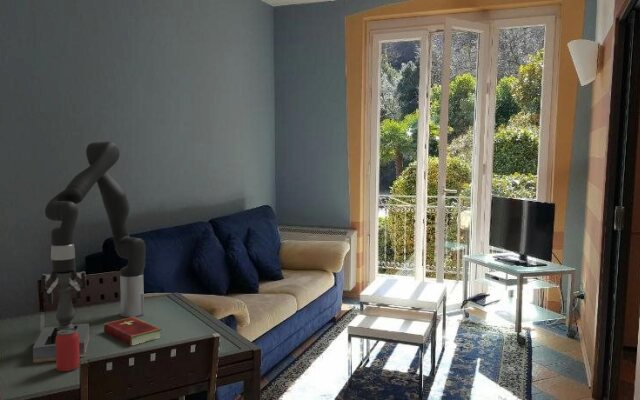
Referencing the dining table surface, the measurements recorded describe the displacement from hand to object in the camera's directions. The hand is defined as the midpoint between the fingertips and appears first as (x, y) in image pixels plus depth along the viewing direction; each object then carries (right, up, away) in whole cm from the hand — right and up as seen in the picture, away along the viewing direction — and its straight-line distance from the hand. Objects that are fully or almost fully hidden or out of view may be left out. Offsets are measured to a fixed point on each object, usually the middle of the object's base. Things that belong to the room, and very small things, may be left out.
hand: (64, 301), depth 177 cm
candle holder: (0, -14, +1) cm, 14 cm away
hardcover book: (+20, -16, +11) cm, 27 cm away
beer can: (+11, -17, -20) cm, 29 cm away
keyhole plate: (+2, -16, -4) cm, 16 cm away
